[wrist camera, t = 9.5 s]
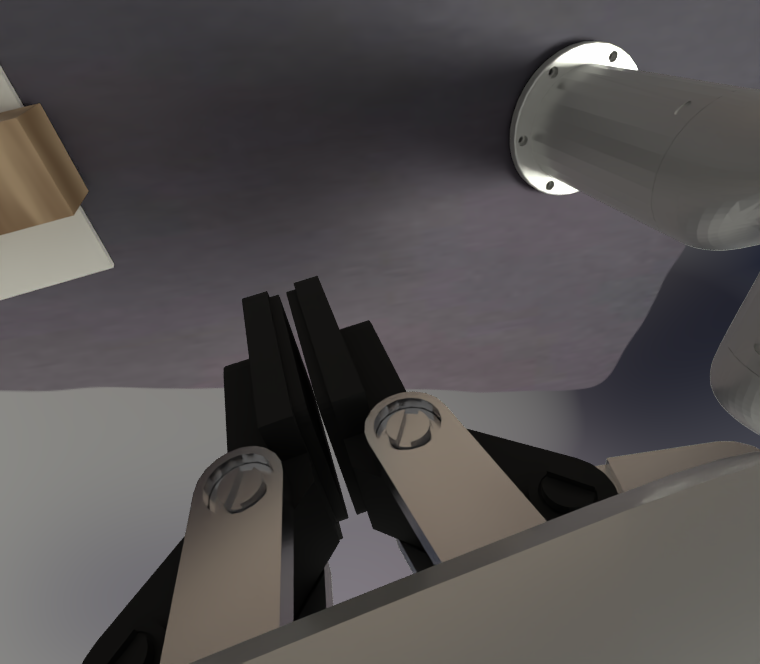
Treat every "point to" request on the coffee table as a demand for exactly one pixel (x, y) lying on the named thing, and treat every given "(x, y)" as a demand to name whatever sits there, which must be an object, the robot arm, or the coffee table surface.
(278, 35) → the coffee table surface
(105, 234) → the coffee table surface
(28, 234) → the mat
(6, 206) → the brown wooden block
